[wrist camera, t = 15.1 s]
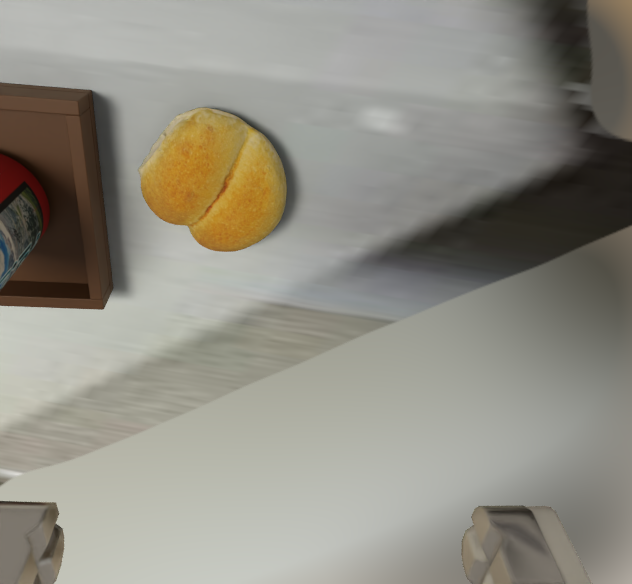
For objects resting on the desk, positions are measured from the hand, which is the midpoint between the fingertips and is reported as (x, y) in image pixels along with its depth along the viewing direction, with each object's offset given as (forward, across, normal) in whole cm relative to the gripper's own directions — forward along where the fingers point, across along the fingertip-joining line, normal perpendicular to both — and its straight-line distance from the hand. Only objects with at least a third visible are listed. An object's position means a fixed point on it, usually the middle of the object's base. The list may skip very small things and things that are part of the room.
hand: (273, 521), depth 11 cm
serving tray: (+27, +17, +6) cm, 33 cm away
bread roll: (+28, +3, +4) cm, 28 cm away
